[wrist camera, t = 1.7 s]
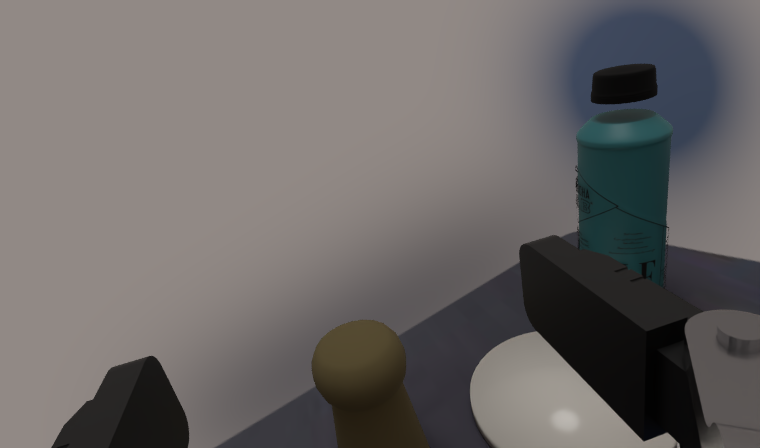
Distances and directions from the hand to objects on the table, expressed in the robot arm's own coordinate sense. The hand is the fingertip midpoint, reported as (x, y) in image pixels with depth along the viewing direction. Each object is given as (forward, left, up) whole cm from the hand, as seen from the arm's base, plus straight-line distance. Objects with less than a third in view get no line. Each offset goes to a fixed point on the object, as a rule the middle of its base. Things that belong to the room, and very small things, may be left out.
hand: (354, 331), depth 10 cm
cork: (0, +12, -20) cm, 23 cm away
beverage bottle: (+23, +20, -20) cm, 37 cm away
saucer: (+13, +13, -20) cm, 27 cm away
